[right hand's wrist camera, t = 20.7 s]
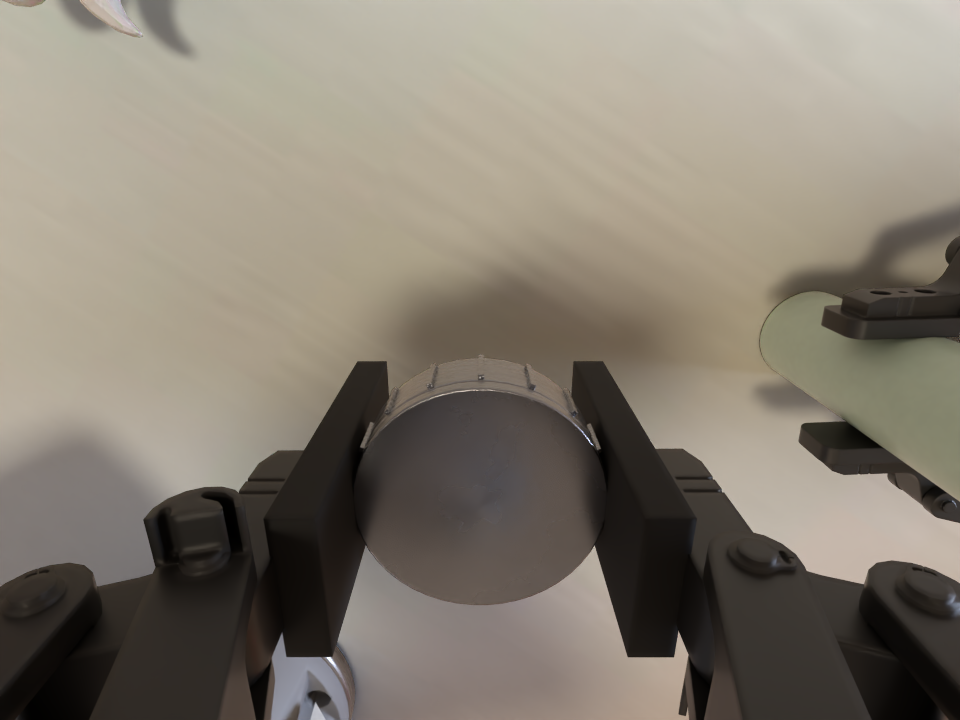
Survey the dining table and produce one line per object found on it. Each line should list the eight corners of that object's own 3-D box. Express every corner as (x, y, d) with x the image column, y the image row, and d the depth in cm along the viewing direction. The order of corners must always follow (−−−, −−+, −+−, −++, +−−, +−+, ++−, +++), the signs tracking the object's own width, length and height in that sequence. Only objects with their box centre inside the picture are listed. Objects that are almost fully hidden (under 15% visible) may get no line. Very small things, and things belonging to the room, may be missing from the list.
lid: (516, 308, 11) (522, 333, 9) (634, 489, 12) (656, 536, 11) (319, 433, 12) (295, 474, 10) (450, 586, 13) (447, 642, 12)
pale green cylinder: (783, 392, 28) (1160, 677, 12) (743, 326, 26) (1105, 552, 11) (864, 343, 27) (1376, 583, 11) (826, 272, 25) (1344, 437, 10)
